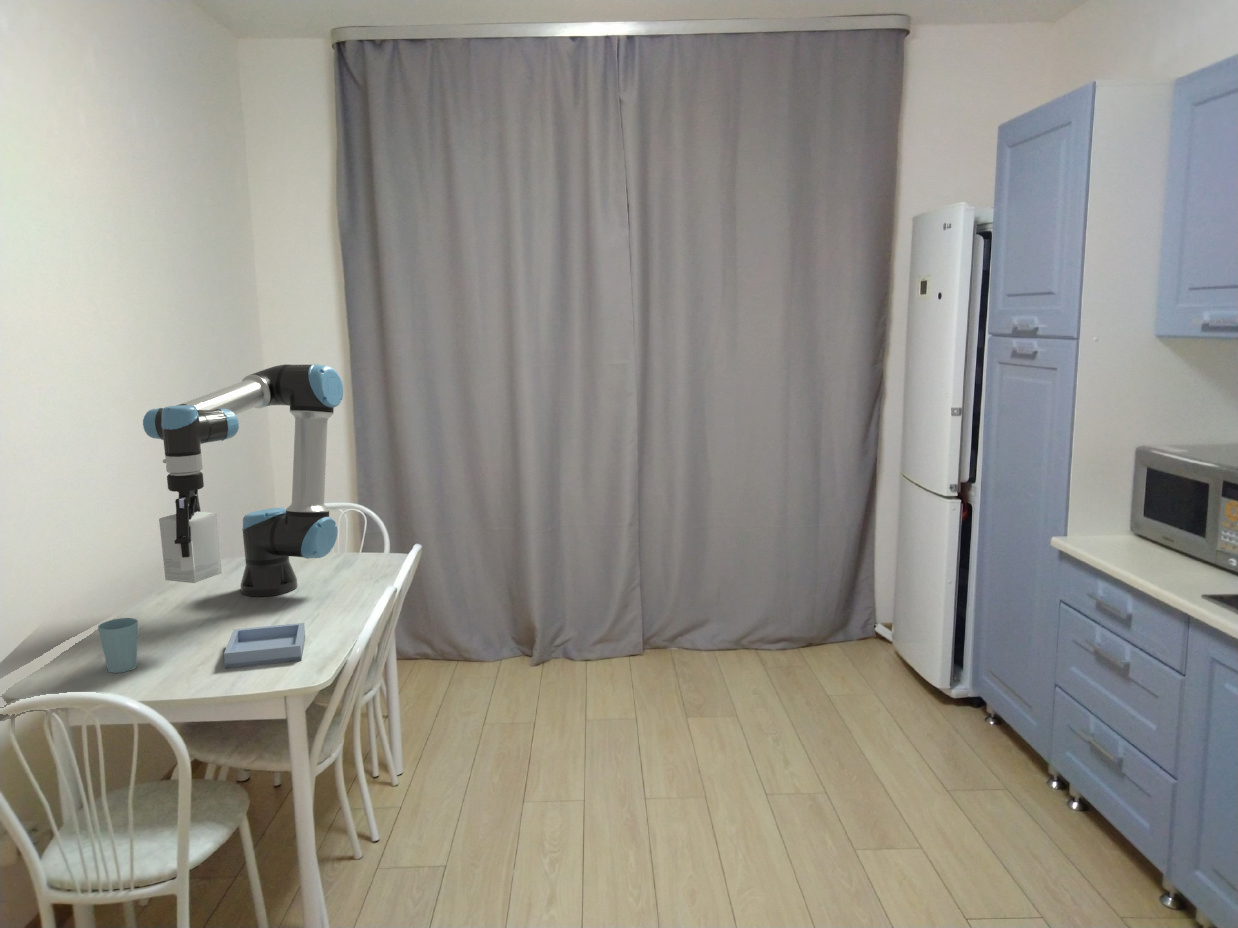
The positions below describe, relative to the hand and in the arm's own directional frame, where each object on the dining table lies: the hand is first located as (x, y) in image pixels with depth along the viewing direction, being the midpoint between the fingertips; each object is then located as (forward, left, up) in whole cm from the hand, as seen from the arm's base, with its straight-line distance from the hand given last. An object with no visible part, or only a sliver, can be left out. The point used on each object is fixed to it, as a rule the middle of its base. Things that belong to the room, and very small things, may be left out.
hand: (192, 562), depth 206 cm
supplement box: (0, 0, -4) cm, 4 cm away
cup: (+11, -14, -20) cm, 27 cm away
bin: (+10, +16, -20) cm, 28 cm away
